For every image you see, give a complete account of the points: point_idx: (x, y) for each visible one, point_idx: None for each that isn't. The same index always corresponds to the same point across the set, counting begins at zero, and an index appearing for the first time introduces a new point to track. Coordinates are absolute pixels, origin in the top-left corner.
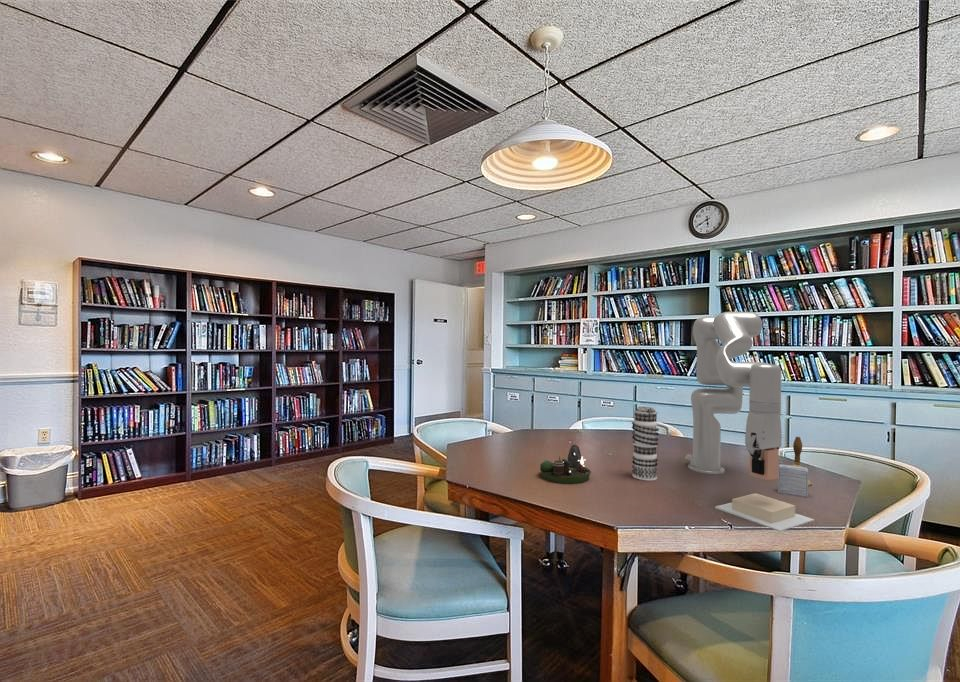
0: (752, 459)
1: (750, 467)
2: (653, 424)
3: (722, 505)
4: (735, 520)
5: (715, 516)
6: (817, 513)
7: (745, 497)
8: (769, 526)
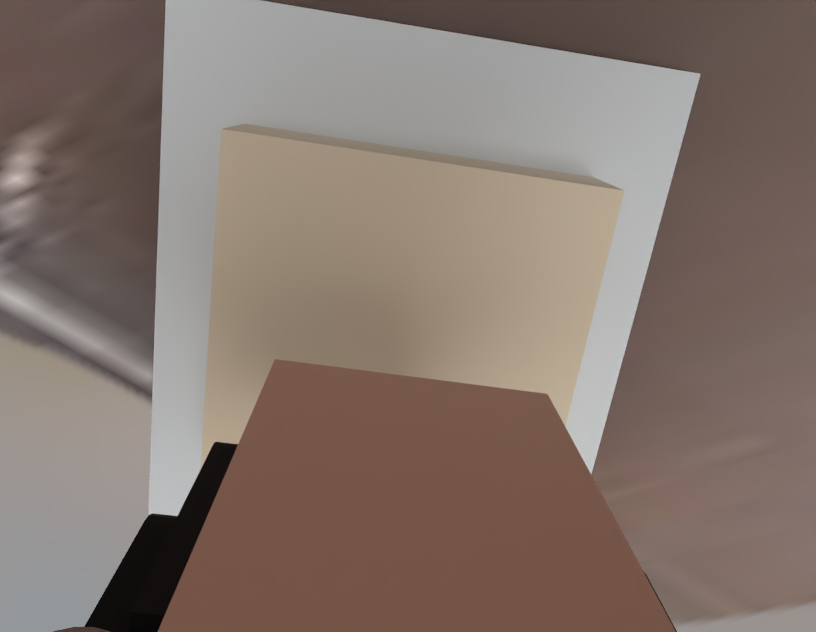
0: (143, 601)
1: (249, 428)
2: None
3: (260, 15)
4: (111, 220)
5: (32, 75)
6: (791, 498)
7: (387, 192)
8: (151, 451)
